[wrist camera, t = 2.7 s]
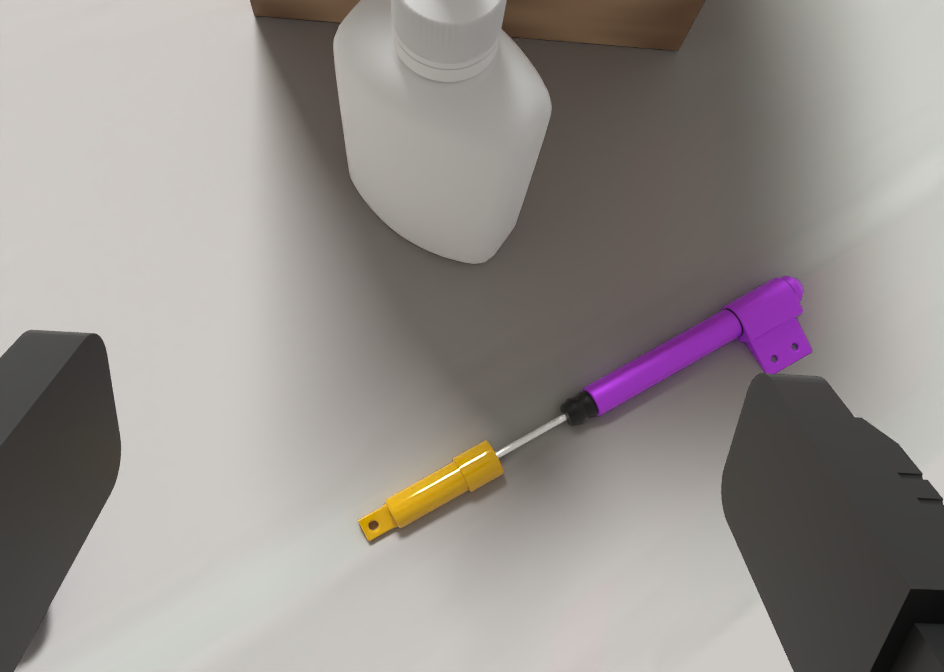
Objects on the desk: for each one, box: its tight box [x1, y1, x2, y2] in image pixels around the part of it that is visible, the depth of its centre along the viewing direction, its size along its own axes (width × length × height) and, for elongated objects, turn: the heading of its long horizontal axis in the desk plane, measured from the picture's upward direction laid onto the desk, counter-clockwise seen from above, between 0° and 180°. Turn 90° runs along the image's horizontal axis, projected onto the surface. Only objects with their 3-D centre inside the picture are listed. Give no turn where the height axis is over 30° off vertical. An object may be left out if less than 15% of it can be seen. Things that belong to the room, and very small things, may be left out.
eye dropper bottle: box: [333, 0, 552, 264], centre depth 21 cm, size 4×6×12 cm
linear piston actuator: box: [358, 276, 812, 541], centre depth 25 cm, size 3×1×16 cm
